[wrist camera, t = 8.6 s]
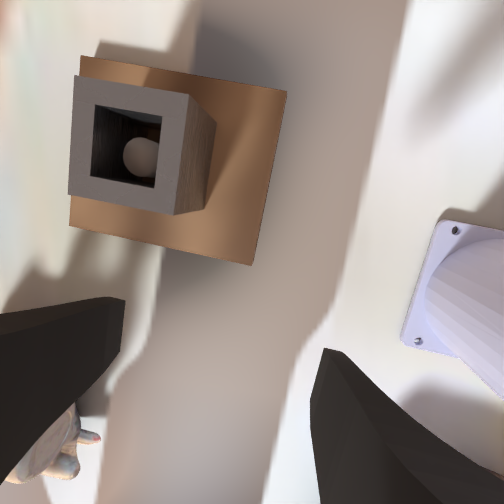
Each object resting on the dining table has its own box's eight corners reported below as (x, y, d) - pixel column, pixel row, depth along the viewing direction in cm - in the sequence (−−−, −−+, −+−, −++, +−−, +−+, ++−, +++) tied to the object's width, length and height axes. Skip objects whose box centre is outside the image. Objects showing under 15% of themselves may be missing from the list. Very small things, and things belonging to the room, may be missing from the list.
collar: (217, 122, 17) (188, 94, 12) (204, 209, 18) (173, 215, 13) (133, 107, 18) (74, 74, 13) (125, 194, 19) (67, 194, 14)
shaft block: (286, 96, 17) (286, 64, 13) (253, 262, 20) (243, 282, 15) (91, 62, 18) (29, 21, 14) (79, 224, 20) (22, 232, 16)
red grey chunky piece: (-73, 293, 20) (-207, 438, 10) (109, 293, 26) (133, 385, 16) (-72, 435, 22) (-179, 661, 13) (94, 405, 28) (108, 544, 19)
